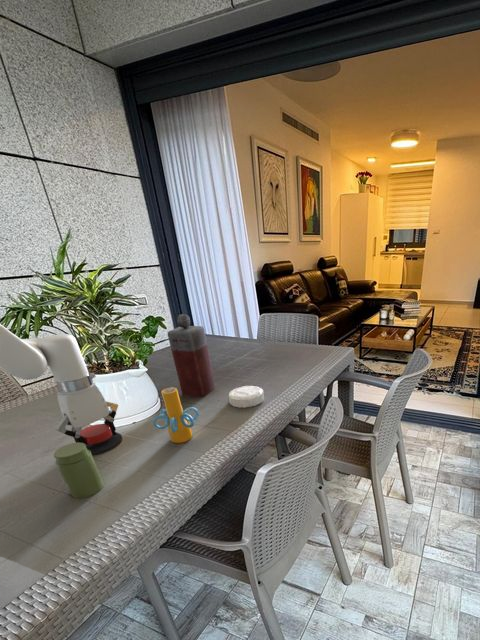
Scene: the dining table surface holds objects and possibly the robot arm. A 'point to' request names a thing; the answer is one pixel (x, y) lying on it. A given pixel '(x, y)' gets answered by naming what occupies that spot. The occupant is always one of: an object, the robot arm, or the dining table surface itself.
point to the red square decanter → (191, 358)
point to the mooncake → (246, 396)
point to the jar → (78, 470)
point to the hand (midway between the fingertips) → (98, 440)
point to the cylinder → (176, 417)
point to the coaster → (105, 444)
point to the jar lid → (96, 433)
